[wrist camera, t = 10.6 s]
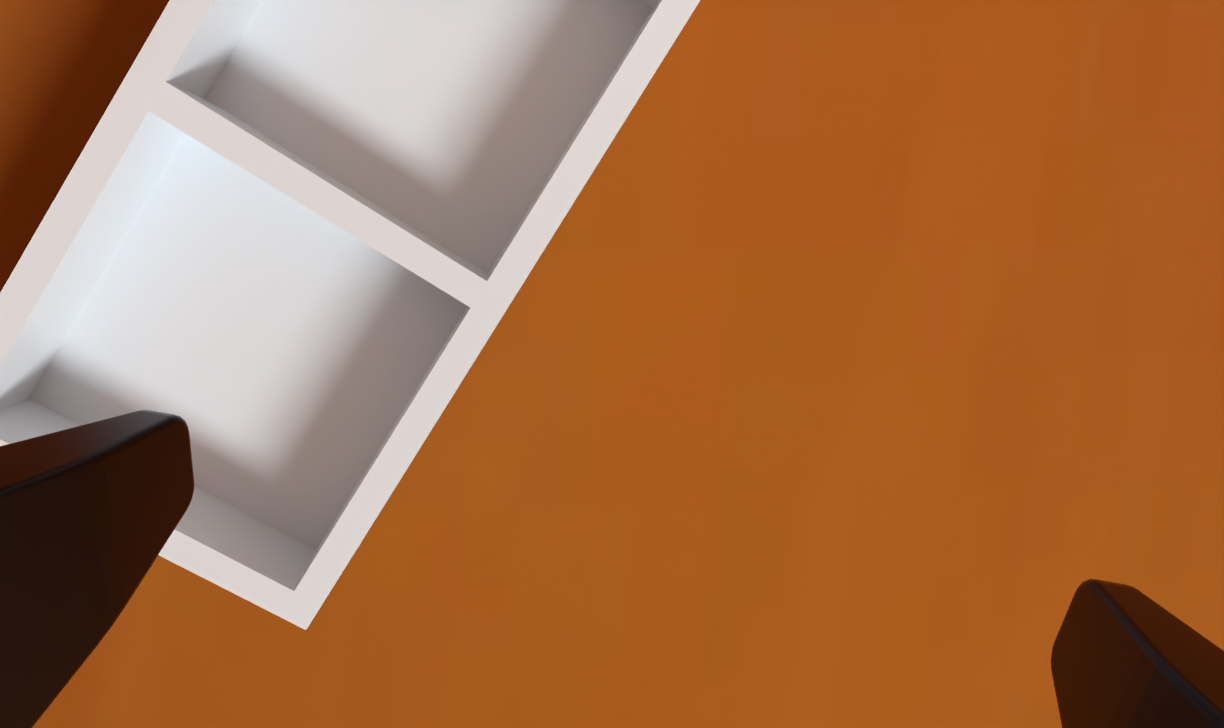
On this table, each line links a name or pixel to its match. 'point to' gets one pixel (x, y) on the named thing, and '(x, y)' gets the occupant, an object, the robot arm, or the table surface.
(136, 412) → the robot arm
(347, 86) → the white compartment tray
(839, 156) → the table surface
